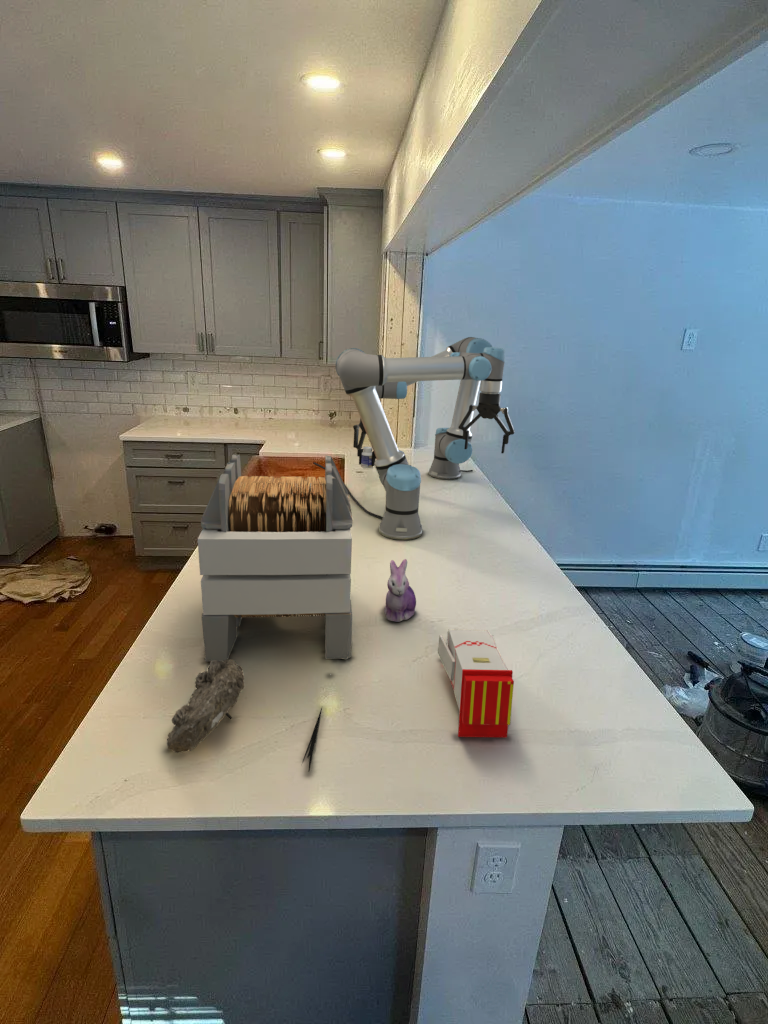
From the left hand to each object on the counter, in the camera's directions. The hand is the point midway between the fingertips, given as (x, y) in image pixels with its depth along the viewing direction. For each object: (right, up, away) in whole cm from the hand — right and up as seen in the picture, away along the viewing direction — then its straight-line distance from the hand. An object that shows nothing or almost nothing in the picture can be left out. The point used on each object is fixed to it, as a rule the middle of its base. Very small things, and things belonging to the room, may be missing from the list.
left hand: (484, 450), depth 210 cm
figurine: (-33, -49, -62) cm, 86 cm away
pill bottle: (-45, -3, +41) cm, 61 cm away
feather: (-49, -63, -101) cm, 129 cm away
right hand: (-45, -2, +41) cm, 61 cm away
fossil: (-70, -62, -102) cm, 138 cm away
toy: (-19, -60, -91) cm, 111 cm away
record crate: (-62, -50, -69) cm, 105 cm away
